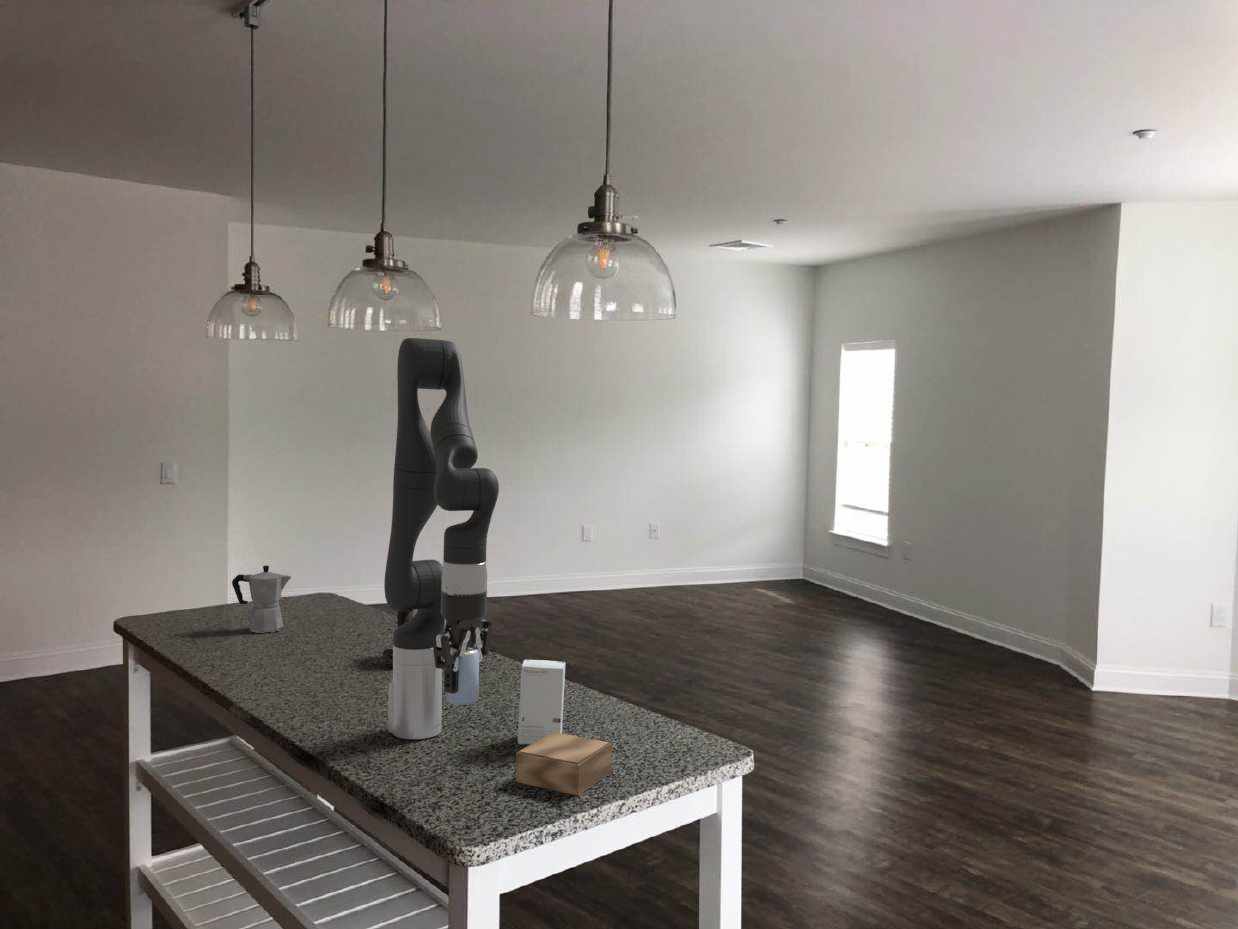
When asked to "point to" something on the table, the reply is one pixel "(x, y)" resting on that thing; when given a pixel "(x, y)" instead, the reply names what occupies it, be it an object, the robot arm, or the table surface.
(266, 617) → the coffeepot
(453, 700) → the canister
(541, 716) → the skincare box
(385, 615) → the table surface
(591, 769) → the cardboard box
